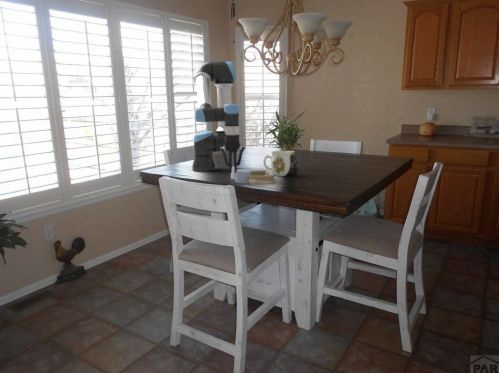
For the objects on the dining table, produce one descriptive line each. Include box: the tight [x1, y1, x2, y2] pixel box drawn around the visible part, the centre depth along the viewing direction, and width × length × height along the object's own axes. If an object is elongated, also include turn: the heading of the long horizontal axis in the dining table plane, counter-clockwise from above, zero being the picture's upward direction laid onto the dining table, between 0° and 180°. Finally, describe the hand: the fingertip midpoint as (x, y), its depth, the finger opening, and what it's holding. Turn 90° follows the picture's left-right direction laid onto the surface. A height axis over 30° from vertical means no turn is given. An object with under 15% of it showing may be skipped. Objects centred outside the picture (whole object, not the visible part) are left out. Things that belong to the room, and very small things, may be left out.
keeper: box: [234, 168, 252, 184], centre depth 212 cm, size 7×7×6 cm
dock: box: [248, 169, 275, 185], centre depth 214 cm, size 15×14×4 cm
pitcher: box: [263, 150, 295, 177], centre depth 228 cm, size 11×18×14 cm, turn 76°
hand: (233, 178), depth 211 cm, fingers closed
